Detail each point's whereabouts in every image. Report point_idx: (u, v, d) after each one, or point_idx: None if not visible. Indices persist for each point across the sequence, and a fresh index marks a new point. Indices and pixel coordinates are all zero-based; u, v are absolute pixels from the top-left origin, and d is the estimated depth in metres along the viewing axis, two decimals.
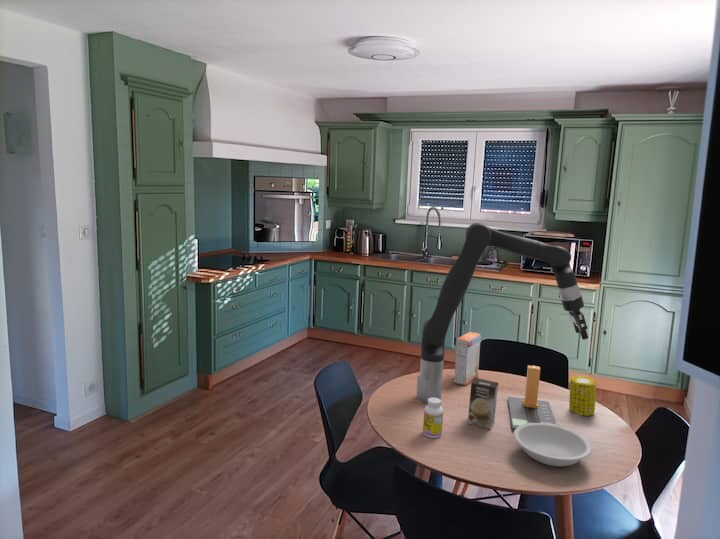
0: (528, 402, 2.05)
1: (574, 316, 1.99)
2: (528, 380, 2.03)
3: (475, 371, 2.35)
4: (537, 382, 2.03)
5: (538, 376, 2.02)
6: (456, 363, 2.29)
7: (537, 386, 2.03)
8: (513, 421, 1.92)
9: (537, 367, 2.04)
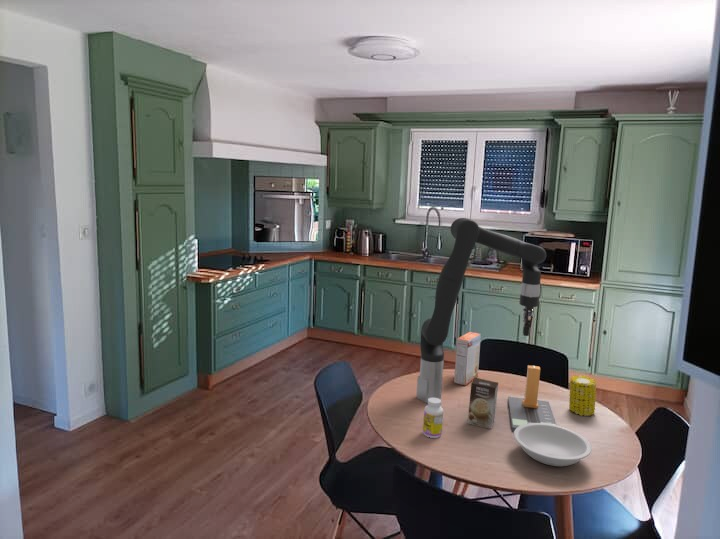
0: (528, 402, 2.05)
1: (525, 312, 2.12)
2: (528, 380, 2.03)
3: (475, 371, 2.35)
4: (537, 382, 2.03)
5: (538, 376, 2.02)
6: (456, 363, 2.29)
7: (537, 386, 2.03)
8: (513, 421, 1.92)
9: (537, 367, 2.04)
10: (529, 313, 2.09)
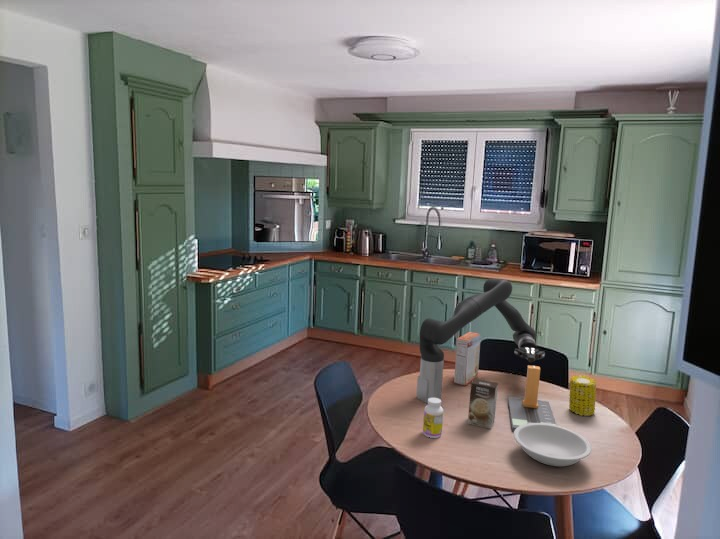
0: (528, 402, 2.05)
1: (534, 350, 2.22)
2: (528, 380, 2.03)
3: (475, 371, 2.35)
4: (537, 382, 2.03)
5: (538, 376, 2.02)
6: (456, 363, 2.29)
7: (537, 386, 2.03)
8: (513, 421, 1.92)
9: (537, 367, 2.04)
10: None
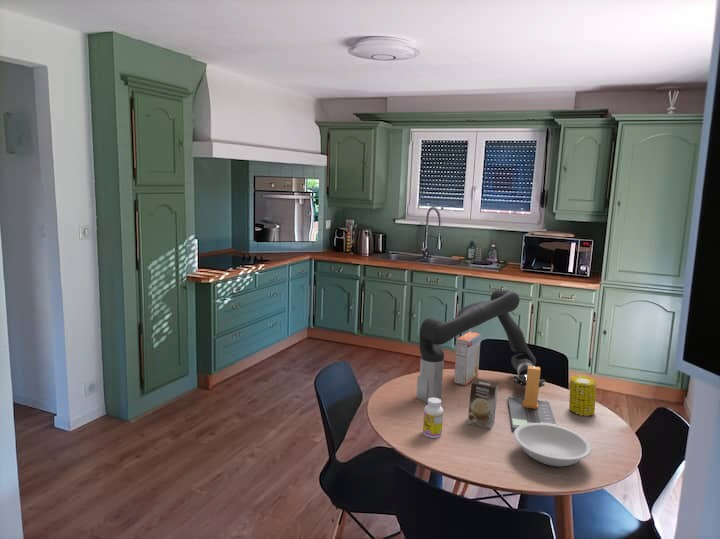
0: (528, 402, 2.04)
1: None
2: (528, 381, 2.03)
3: (475, 371, 2.35)
4: (537, 383, 2.02)
5: (538, 377, 2.02)
6: (456, 363, 2.29)
7: (537, 387, 2.02)
8: (513, 421, 1.92)
9: (537, 368, 2.03)
10: None
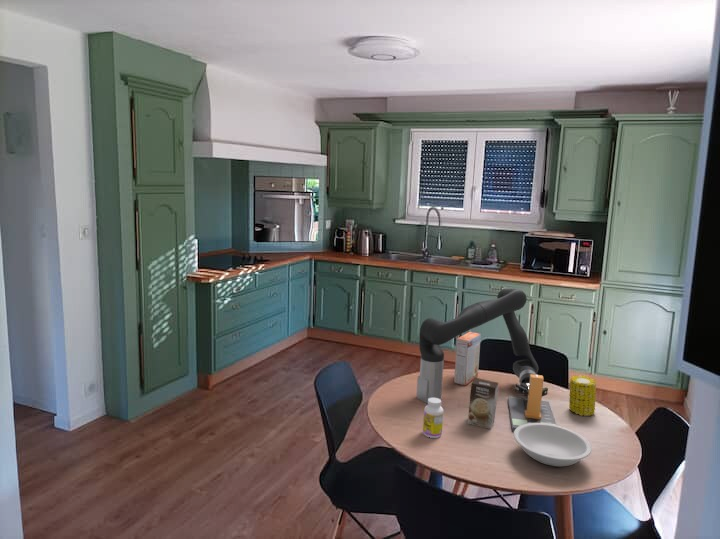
0: (530, 412, 1.95)
1: None
2: (531, 390, 1.94)
3: (475, 371, 2.35)
4: (540, 392, 1.93)
5: (541, 386, 1.93)
6: (456, 363, 2.29)
7: (540, 396, 1.94)
8: (513, 421, 1.92)
9: (540, 376, 1.94)
10: None
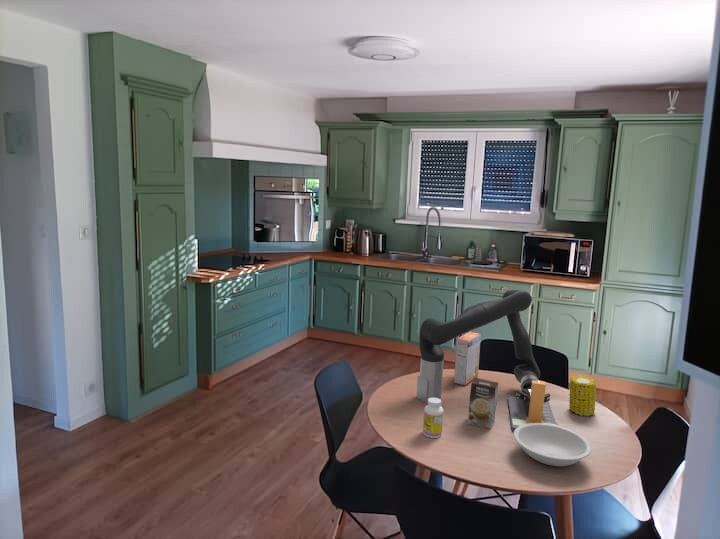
0: (532, 420, 1.89)
1: None
2: (532, 396, 1.88)
3: (475, 371, 2.35)
4: (542, 398, 1.87)
5: (543, 392, 1.87)
6: (456, 363, 2.29)
7: (542, 403, 1.88)
8: (513, 421, 1.92)
9: (542, 382, 1.88)
10: None
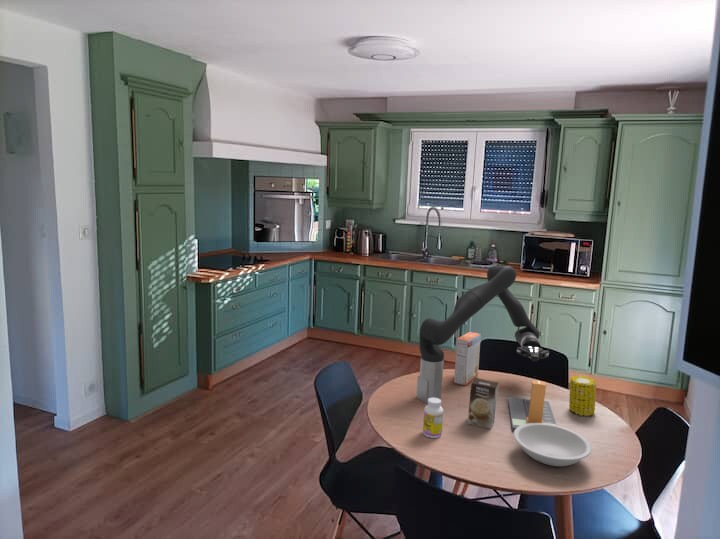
0: (532, 420, 1.89)
1: (538, 348, 2.11)
2: (532, 397, 1.88)
3: (475, 371, 2.35)
4: (542, 399, 1.87)
5: (543, 392, 1.87)
6: (456, 363, 2.29)
7: (542, 403, 1.87)
8: (513, 421, 1.92)
9: (542, 382, 1.88)
10: None
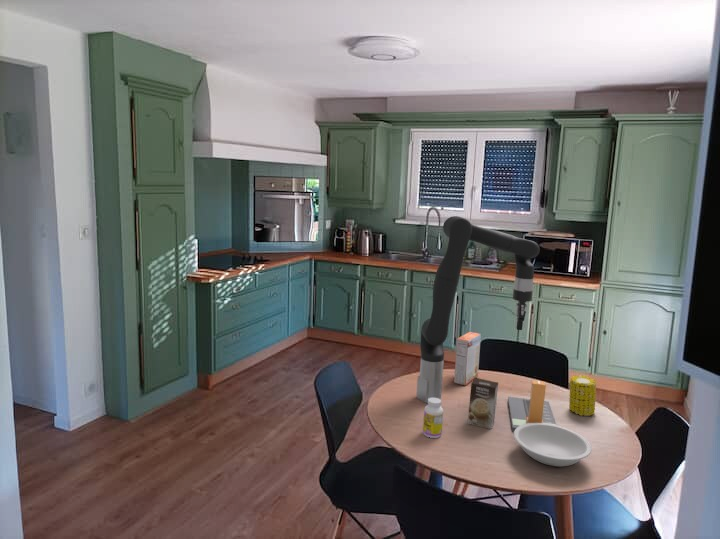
0: (532, 420, 1.89)
1: (518, 306, 2.12)
2: (532, 397, 1.88)
3: (475, 371, 2.35)
4: (542, 399, 1.87)
5: (543, 392, 1.87)
6: (456, 363, 2.29)
7: (542, 403, 1.87)
8: (513, 421, 1.92)
9: (542, 382, 1.88)
10: (522, 308, 2.09)
